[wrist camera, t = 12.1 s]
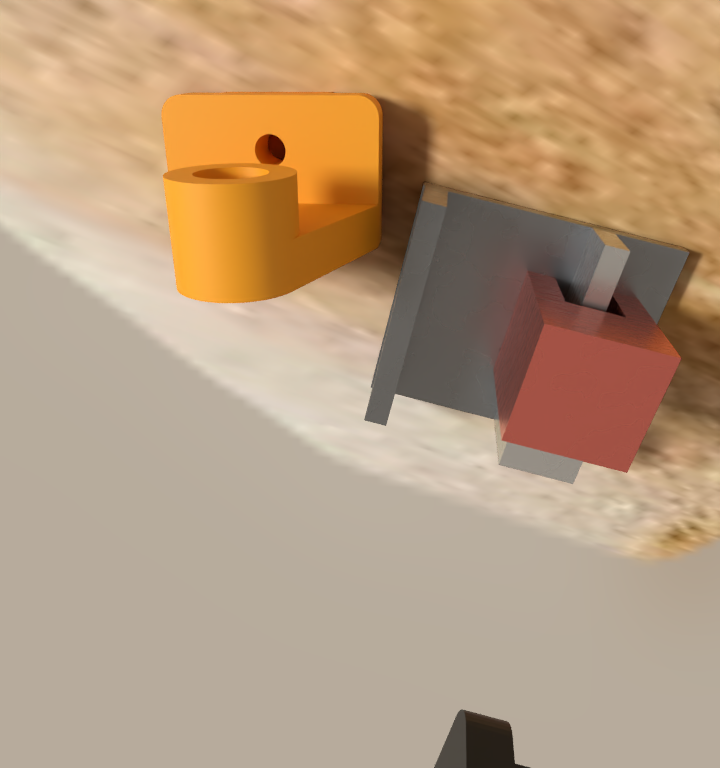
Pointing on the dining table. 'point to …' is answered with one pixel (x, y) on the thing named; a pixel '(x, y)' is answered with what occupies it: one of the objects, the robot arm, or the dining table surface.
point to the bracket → (269, 189)
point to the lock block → (580, 375)
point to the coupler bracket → (498, 300)
